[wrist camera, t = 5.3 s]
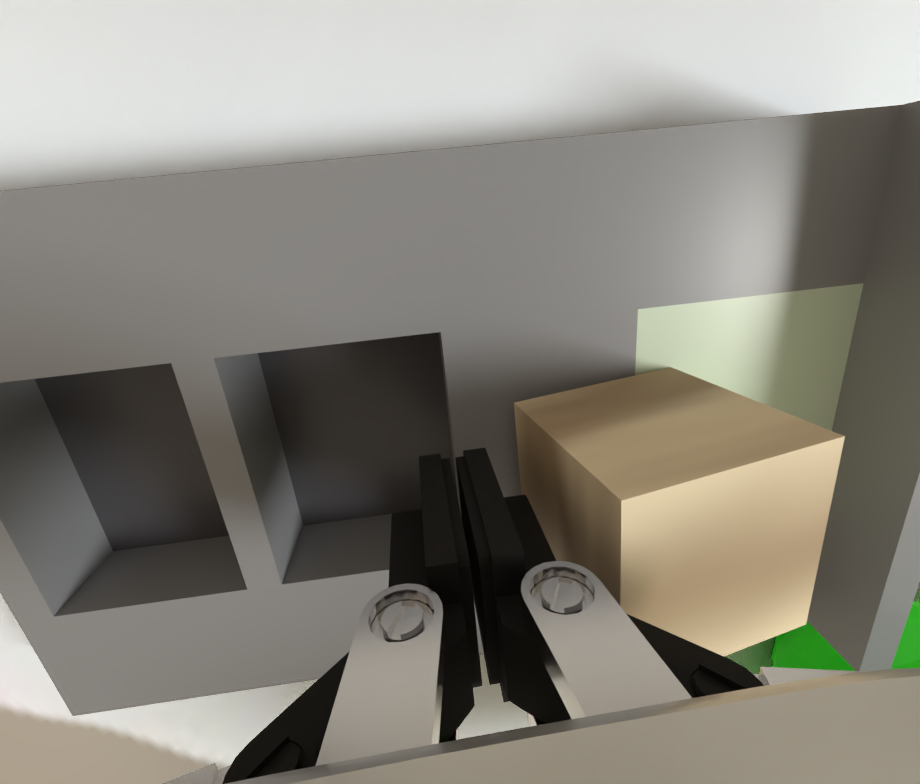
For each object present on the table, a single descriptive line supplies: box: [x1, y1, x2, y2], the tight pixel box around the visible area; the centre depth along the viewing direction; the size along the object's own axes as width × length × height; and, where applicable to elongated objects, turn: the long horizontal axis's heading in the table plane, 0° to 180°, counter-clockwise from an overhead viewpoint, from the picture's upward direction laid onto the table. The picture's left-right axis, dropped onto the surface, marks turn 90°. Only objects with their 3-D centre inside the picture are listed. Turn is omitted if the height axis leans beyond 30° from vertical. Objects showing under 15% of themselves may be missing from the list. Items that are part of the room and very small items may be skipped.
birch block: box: [514, 367, 845, 656], centre depth 11 cm, size 4×4×4 cm
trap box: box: [0, 101, 920, 716], centre depth 13 cm, size 15×25×6 cm, turn 96°
